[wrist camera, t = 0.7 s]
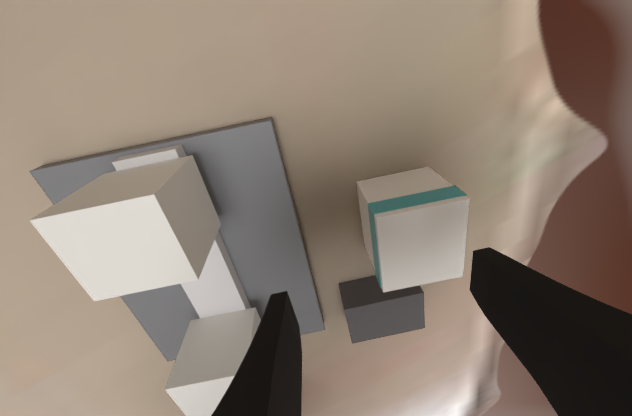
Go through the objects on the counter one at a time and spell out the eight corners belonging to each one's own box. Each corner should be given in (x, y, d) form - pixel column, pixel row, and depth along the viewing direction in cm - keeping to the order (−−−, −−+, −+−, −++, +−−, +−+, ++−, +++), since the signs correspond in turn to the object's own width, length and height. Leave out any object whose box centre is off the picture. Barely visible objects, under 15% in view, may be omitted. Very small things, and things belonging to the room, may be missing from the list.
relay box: (410, 299, 25) (424, 327, 23) (345, 313, 26) (352, 343, 23) (408, 266, 23) (423, 292, 21) (338, 281, 24) (344, 309, 21)
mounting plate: (323, 320, 25) (334, 405, 19) (171, 350, 25) (134, 444, 19) (271, 117, 17) (261, 152, 11) (42, 165, 17) (-99, 227, 11)
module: (428, 232, 22) (463, 276, 17) (363, 245, 22) (382, 293, 17) (428, 165, 19) (470, 197, 15) (355, 180, 19) (375, 217, 15)
